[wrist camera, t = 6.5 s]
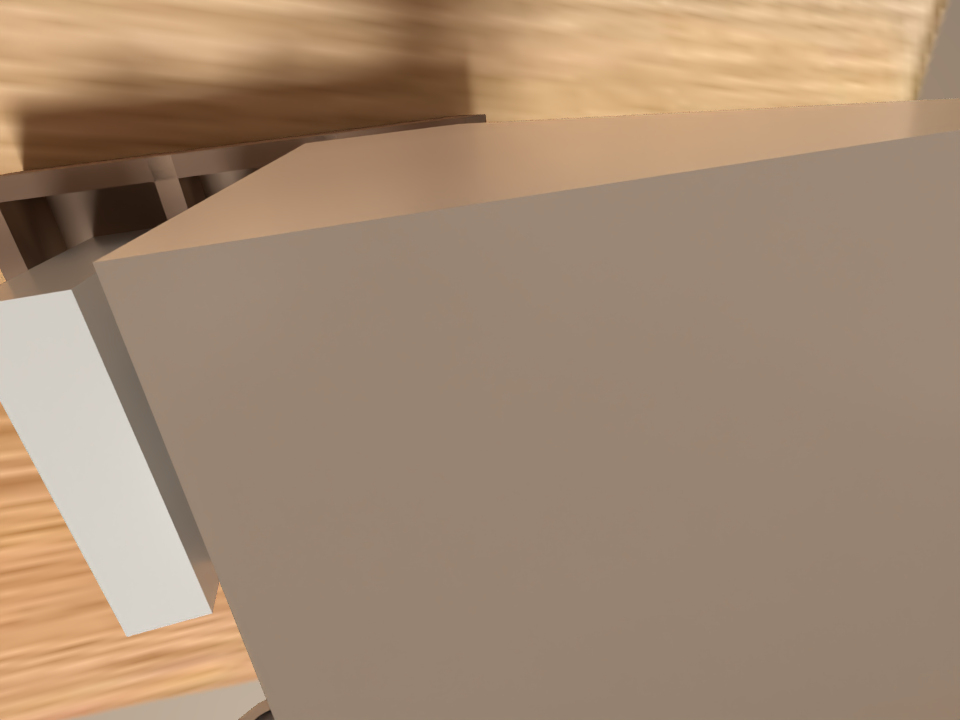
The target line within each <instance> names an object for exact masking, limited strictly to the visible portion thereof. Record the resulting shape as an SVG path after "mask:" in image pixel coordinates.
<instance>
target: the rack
mask: <svg viewBox="0 0 960 720" xmlns="http://www.w3.org/2000/svg"><path fill="white" fill-rule="evenodd" d="M468 123H486V115H485V114H484V115H459V116H452V117H444V118H436V119H428V120H420V121H412V122H404V123H397V124H389V125H381V126H373V127H365V128H357V129H349V130H342V131H334V132H326V133H318V134H310V135H302V136H294V137H287V138H279V139H271V140H263V141H255V142H247V143H239V144H232V145H224V146H216V147H208V148H200V149H192V150H184V151H177V152H169V153H161V154H153V155H145V156H137V157H129V158H122V159H114V160H106V161H98V162H90V163H82V164H75V165H67V166H59V167H51V168H43V169H35V170H27V171H20V172H14V173H8V174H3V175H0V269H1V271H2V273H3V275H4V277H5V279H6V281H8V280H10V279H12V278H14V277H16V276H17V275H19V274H21V273H23V272H25V271H27V270H29V269H31V268H33V267H35V266H37V265H39V264H41V263H43V262H45V261H47V260H49V259H51V258H53V257H55V256H57V255H59V254H61V253H63V252H65V251H67V250H68V249H70V248H72V247H74V246H76V245H78V244H80V243H82V242H84V241H86V240H88V239H90V238H92V237H96V236H103V235H110V234H116V233H123V232H130V231H136V230H143V229H150V228H155V227H157V226H159V225H160V224H162V223H164V222H166V221H168V220H169V219H171V218H173V217H175V216H177V215H178V214H180V213H182V212H184V211H185V210H187V209H189V208H191V207H193V206H194V205H196V204H198V203H200V202H202V201H203V200H205V199H207V198H209V197H210V196H212V195H214V194H216V193H218V192H219V191H221V190H223V189H225V188H227V187H228V186H230V185H232V184H234V183H235V182H237V181H239V180H241V179H243V178H244V177H246V176H248V175H250V174H252V173H253V172H255V171H257V170H259V169H260V168H262V167H264V166H266V165H268V164H269V163H271V162H273V161H275V160H277V159H278V158H280V157H282V156H284V155H285V154H287V153H289V152H291V151H293V150H294V149H296V148H298V147H300V146H302V145H303V144H305V143H312V142H319V141H327V140H335V139H343V138H351V137H359V136H367V135H375V134H383V133H391V132H399V131H407V130H415V129H423V128H431V127H439V126H447V125H455V124H468Z"/></svg>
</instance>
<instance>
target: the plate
mask: <svg viewBox="0 0 960 720" xmlns="http://www.w3.org/2000/svg"><path fill="white" fill-rule="evenodd" d="M93 265H94V268H95V270H96V273H97V275H98V278H99V280H100V283H101V285H102V288H103V290H104V293H105V295H106V298H107V300H108V303H109V305H110V308H111V310H112V313H113V315H114V318H115V321H116V323H117V326H118V328H119V331H120V333H121V336H122V338H123V341H124V343H125V346H126V348H127V351H128V353H129V356H130V358H131V361H132V363H133V366H134V368H135V371H136V373H137V376H138V378H139V381H140V383H141V386H142V388H143V391H144V393H145V396H146V398H147V401H148V403H149V406H150V408H151V411H152V413H153V416H154V418H155V421H156V423H157V426H158V428H159V431H160V433H161V436H162V438H163V441H164V443H165V446H166V448H167V451H168V453H169V456H170V459H171V461H172V464H173V466H174V469H175V471H176V474H177V476H178V479H179V481H180V484H181V486H182V489H183V491H184V494H185V496H186V499H187V501H188V504H189V506H190V509H191V511H192V514H193V516H194V519H195V521H196V524H197V526H198V529H199V531H200V534H201V536H202V539H203V541H204V544H205V546H206V549H207V551H208V554H209V556H210V559H211V561H212V564H213V566H214V569H215V571H216V574H217V576H218V579H219V581H220V584H221V587H222V589H223V592H224V594H225V597H226V599H227V602H228V604H229V607H230V609H231V612H232V614H233V617H234V619H235V622H236V624H237V627H238V629H239V632H240V634H241V637H242V639H243V642H244V644H245V647H246V649H247V652H248V654H249V657H250V659H251V662H252V664H253V667H254V669H255V672H256V674H257V677H258V679H259V682H260V684H261V687H262V689H263V692H264V694H265V697H266V699H267V702H268V704H269V707H270V709H271V712H272V714H273V717H274V720H960V98H953V99H934V100H914V101H895V102H875V103H856V104H836V105H817V106H798V107H778V108H759V109H739V110H720V111H701V112H681V113H662V114H643V115H623V116H604V117H584V118H565V119H546V120H526V121H507V122H488V123H468V124H455V125H447V126H439V127H431V128H423V129H415V130H407V131H399V132H391V133H383V134H375V135H367V136H359V137H351V138H343V139H335V140H327V141H319V142H312V143H305V144H303V145H302V146H300V147H298V148H296V149H294V150H293V151H291V152H289V153H287V154H285V155H284V156H282V157H280V158H278V159H277V160H275V161H273V162H271V163H269V164H268V165H266V166H264V167H262V168H260V169H259V170H257V171H255V172H253V173H252V174H250V175H248V176H246V177H244V178H243V179H241V180H239V181H237V182H235V183H234V184H232V185H230V186H228V187H227V188H225V189H223V190H221V191H219V192H218V193H216V194H214V195H212V196H210V197H209V198H207V199H205V200H203V201H202V202H200V203H198V204H196V205H194V206H193V207H191V208H189V209H187V210H185V211H184V212H182V213H180V214H178V215H177V216H175V217H173V218H171V219H169V220H168V221H166V222H164V223H162V224H160V225H159V226H157V227H155V228H153V229H152V230H150V231H148V232H146V233H144V234H143V235H141V236H139V237H137V238H135V239H134V240H132V241H130V242H128V243H127V244H125V245H123V246H121V247H119V248H118V249H116V250H114V251H112V252H111V253H109V254H107V255H105V256H103V257H102V258H100V259H98V260H96V261H94V262H93Z"/></svg>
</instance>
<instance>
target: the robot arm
mask: <svg viewBox="0 0 960 720" xmlns="http://www.w3.org/2000/svg"><path fill="white" fill-rule="evenodd" d="M239 720H274V717H273V714H272V712H271V709H270V707H269V704H268V702H267V699H266V700H265V701H262V702H261V703H258V704H257V705H256V706H255V707H253V708H252V709H251V710H250V711H248V712H247V713H246V714H244V715H243V716H242V717H241V718H239Z"/></svg>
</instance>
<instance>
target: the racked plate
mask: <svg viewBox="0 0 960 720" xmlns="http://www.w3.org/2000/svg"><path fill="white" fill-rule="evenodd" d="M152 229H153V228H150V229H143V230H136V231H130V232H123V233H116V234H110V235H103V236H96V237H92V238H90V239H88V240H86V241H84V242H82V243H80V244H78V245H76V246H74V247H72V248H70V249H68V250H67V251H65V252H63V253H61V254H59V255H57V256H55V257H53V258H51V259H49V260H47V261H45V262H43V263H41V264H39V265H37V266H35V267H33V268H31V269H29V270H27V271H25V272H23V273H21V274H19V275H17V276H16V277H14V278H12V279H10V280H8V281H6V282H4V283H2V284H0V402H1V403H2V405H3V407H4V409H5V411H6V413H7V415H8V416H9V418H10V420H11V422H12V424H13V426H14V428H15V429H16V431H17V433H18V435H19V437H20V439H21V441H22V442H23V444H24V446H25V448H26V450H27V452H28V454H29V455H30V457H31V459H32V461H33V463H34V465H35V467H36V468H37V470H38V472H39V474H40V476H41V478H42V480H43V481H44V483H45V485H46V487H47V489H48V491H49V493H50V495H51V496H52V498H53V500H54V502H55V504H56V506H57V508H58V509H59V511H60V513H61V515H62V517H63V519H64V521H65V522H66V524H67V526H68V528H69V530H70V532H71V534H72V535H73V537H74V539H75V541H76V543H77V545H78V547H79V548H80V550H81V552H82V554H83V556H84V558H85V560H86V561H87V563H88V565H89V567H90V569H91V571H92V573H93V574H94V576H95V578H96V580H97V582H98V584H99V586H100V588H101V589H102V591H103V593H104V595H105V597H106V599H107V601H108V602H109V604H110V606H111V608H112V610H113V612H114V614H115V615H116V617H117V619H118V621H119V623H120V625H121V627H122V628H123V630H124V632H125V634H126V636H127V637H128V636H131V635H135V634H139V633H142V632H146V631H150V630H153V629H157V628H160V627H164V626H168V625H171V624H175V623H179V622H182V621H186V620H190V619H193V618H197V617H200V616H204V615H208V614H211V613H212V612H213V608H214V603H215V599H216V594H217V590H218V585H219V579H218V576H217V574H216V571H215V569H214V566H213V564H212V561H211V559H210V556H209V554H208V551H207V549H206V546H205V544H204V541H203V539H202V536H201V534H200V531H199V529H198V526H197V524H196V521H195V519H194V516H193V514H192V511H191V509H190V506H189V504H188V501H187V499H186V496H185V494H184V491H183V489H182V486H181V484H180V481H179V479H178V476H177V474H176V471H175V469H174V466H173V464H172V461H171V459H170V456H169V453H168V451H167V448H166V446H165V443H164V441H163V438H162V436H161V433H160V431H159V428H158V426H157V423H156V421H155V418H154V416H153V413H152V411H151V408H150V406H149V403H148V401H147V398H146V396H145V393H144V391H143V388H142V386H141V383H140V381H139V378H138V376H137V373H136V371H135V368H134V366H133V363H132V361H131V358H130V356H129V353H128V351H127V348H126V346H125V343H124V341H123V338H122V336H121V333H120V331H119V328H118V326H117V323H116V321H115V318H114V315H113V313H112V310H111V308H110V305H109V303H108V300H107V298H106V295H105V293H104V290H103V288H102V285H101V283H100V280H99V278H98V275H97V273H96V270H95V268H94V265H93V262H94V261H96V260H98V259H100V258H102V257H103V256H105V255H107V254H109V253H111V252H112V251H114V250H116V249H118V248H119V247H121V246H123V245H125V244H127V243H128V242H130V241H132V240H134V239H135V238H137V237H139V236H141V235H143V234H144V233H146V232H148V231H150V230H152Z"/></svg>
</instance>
